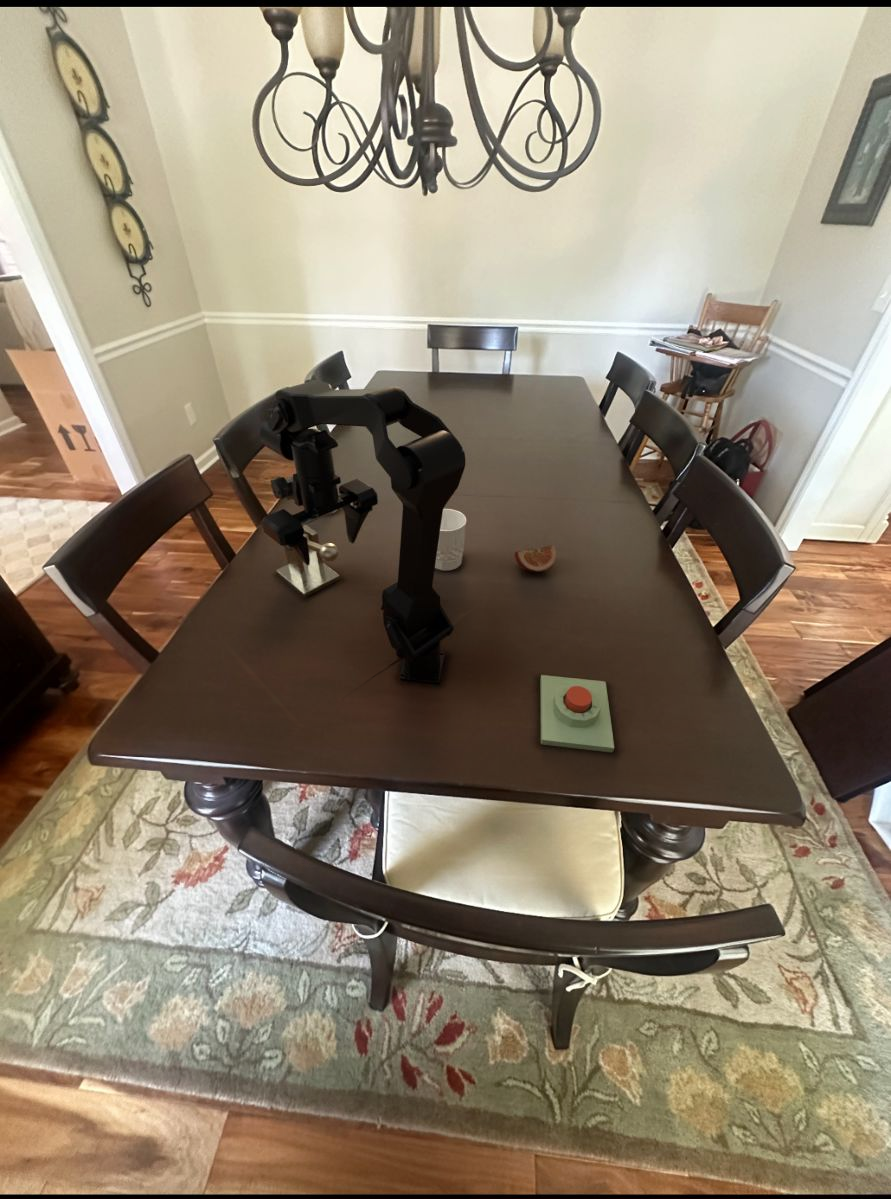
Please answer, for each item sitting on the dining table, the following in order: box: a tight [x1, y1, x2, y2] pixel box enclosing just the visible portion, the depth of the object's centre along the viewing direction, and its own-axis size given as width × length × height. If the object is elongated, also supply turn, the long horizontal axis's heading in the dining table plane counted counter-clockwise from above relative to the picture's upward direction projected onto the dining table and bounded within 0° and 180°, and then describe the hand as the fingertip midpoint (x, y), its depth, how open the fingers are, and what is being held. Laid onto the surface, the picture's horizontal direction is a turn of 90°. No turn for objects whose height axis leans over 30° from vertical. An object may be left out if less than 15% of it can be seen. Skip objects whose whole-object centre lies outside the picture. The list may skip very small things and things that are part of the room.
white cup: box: [435, 508, 467, 572], centre depth 102 cm, size 8×8×10 cm
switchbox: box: [539, 674, 615, 753], centre depth 76 cm, size 12×10×3 cm
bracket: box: [276, 524, 341, 598], centre depth 98 cm, size 10×8×10 cm
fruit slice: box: [514, 544, 558, 573], centre depth 102 cm, size 8×7×5 cm
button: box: [565, 686, 592, 713], centre depth 75 cm, size 4×4×2 cm
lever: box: [303, 534, 340, 563], centre depth 92 cm, size 13×3×3 cm, turn 44°
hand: (329, 552), depth 89 cm, fingers open, 9 cm apart
